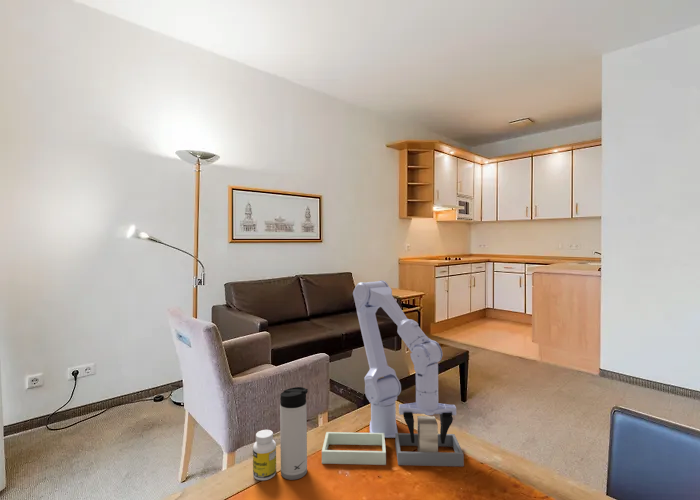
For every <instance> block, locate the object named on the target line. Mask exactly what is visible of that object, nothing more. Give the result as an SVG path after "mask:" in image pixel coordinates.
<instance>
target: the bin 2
mask: <svg viewBox="0 0 700 500" xmlns="http://www.w3.org/2000/svg"><path fill="white" fill-rule="evenodd" d="M401 446H404V447H405V446H406V447H407V446H408V447H410V446H412V447H418V432H414V443H412V442H411V436H410V432H408V433H404V432H398V433H395V453H396V459H397V466H424V467H425V466H426V467H427V466H429V467H430V466H431V467H464V466H465V461H464V459H465V457H464V452H463V450H462V447H461V445H460V443H459V440H458V438H457V436H456V435H455V433H447V434H446V438H445V444H442V443H441V440H440V433H438V447H452V448H453V451H454V452H453V451H451V452H450V451H449V452H446V451H443V452H442V451H438V452H418V451H403V450H402V451H401Z"/></svg>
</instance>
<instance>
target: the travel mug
mask: <svg viewBox="0 0 700 500" xmlns="http://www.w3.org/2000/svg"><path fill="white" fill-rule="evenodd" d="M308 391H309V390H308V388H305V387H304V386H295V387H289V388H287V389H285V390H283V391H282V392H280V396H279V397H280V403H279V406H280V407H279V413H280V414H279V416H280V417H279V418H280V425H279V426H280V429H279V431H280V432H279V433H280V435H279V436H280V439H279V440H280V476H281V477H282V478H283V479H285V480H290V481H294V480H299V479H302V478H303V477H305V476H306V474H307V472H308V436H307V435H308V427H307V424H308V423H307V420H308V419H307V418H308V417H307V394H308Z"/></svg>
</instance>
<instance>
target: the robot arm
mask: <svg viewBox="0 0 700 500" xmlns="http://www.w3.org/2000/svg"><path fill="white" fill-rule="evenodd" d="M352 296H353V300H354V303H355V304H354V305H355V308H356V314H357V318H358V323H359V328H360V332H361V336H362V337H361V338H362V341H363V345H364V349H365V354H366V358H367V363H368V367H369V370H368V371H367V373H366V374H365V376H364V377H363V379H364V393H365V397H366V399H367V400H368V403H370V418H371V419H370V421H369V433H384V436H385V438H386V439H387V438H388V439H390V438H391V439H392V438H393V439H394V438H395V433H399V432H398V427H397V420H396V419H397V417H396V413H397V412H396V411H397V410H396V405H397V404H396V402H397V400H398V396H399V395H400V394H401V392H402V384H401V382H400V380H399V378H398V377H397V373H396V371H395V369H394V368H392V367H390V365H388V361H387V357H386V354H385V349H384V346H383V345H384V344H383V341H382V336H381V332H380V329H379V325H378V321H377V316H376V314H377V312H378V309H380V308H381V309H382V310H383V311H384V312H385V313H386V314H387V315H388V317H389V318H390V319H391V320H392V322H393V323H394V324H396V326H397V331H396V332H397V334H398V335H399V337H400V338H401V340H402V341H403V342H404V344H405V346H406V347H407V348H408V349H409V351H410V355H409V356H410V359H411V362H412V363H413V370H414V371H415V402H410V403H402V404H401V403H399V404H398V414H399V415H403V420H404V422H405V424H406V426H407V428H408V431H409V432H408V433H410V436H411V442H412V443H414V433H415V427H414V426H415V419H414V414H415V415H416V414H417V415H419V414H420V415H424V416H425V415H426V416H434V415H439V419H440V420H439V421H440V431H439V432H440V433H439V434H440V440H441V443H442V444H445V438H446V434H448V431H449V429H450V427H451V425H452V424H453V422H454V417H453V416H457V407H456V405H455V404H447V403H439V363H440V362H441V361H442V358H443V349H442V347H441V345H440V343H439V342H437V341H436V340H433V339H431V338H430V337H429V336H427V335H426V334H425V332H424V331H423V330H422V328H421V327H420V326H419V323H418V322H417V321H415V320H414V319H409V318H408V317H407V316H406V314H405V312H404V311H403V310H402V308H401V307H400V305H399V304H398V302H397V300H396V299H395V298H394V296H393V289H392V287H390V286H389V284H388V283H387V282H386V281H385V280H377V281H368V282H367V281H366V282H363V281H360V282H357V284H356V286H355V287H354V289H353V292H352Z"/></svg>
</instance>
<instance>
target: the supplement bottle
mask: <svg viewBox="0 0 700 500" xmlns="http://www.w3.org/2000/svg"><path fill="white" fill-rule="evenodd" d="M252 465H253V466H252V476H253V478H254V479H256V480H257V481H268V480H270V479H272V478H274V477H275V475H276V474H277V442H276V441H275V440H274V432H273V431H272V430H270V429H262V430H259V431H257V432H256V433H255V442H254V443H253V446H252Z"/></svg>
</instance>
